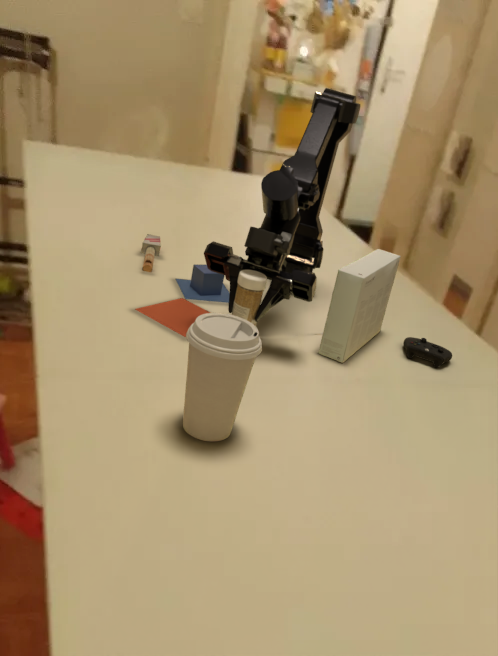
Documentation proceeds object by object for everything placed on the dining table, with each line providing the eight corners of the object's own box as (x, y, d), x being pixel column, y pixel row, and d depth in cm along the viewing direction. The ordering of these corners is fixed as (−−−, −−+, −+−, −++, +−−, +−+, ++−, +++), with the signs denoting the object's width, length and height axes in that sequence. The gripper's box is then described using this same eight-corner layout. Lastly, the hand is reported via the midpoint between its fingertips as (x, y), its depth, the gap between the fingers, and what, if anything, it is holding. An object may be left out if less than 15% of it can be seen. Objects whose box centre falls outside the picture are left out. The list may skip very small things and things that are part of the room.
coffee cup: (213, 457, 85) (236, 351, 78) (155, 424, 88) (172, 319, 81) (255, 431, 92) (279, 332, 85) (201, 401, 96) (220, 304, 89)
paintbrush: (163, 230, 150) (157, 264, 133) (161, 242, 151) (155, 277, 135) (146, 227, 149) (137, 260, 132) (144, 238, 150) (136, 273, 134)
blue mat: (222, 285, 138) (223, 283, 138) (235, 305, 130) (236, 303, 130) (174, 280, 134) (175, 278, 134) (185, 300, 126) (185, 298, 126)
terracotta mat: (181, 299, 126) (182, 297, 126) (230, 325, 122) (230, 323, 121) (134, 310, 117) (134, 308, 117) (184, 339, 112) (185, 336, 112)
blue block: (209, 285, 135) (213, 264, 133) (220, 295, 132) (224, 273, 130) (189, 286, 132) (193, 264, 130) (200, 295, 129) (204, 273, 127)
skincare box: (355, 322, 137) (378, 247, 130) (380, 332, 136) (404, 256, 128) (314, 352, 120) (337, 267, 112) (342, 364, 118) (367, 278, 111)
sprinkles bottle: (255, 354, 113) (273, 279, 107) (232, 356, 111) (248, 279, 104) (242, 342, 116) (258, 268, 110) (219, 343, 114) (234, 268, 107)
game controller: (452, 355, 131) (457, 342, 126) (443, 379, 130) (448, 368, 124) (405, 339, 133) (408, 326, 127) (395, 362, 132) (398, 350, 126)
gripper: (218, 191, 107) (180, 275, 102) (330, 225, 105) (296, 312, 100) (225, 229, 117) (191, 307, 113) (327, 261, 115) (297, 341, 111)
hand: (242, 316), depth 109 cm, fingers closed on sprinkles bottle, 4 cm apart
